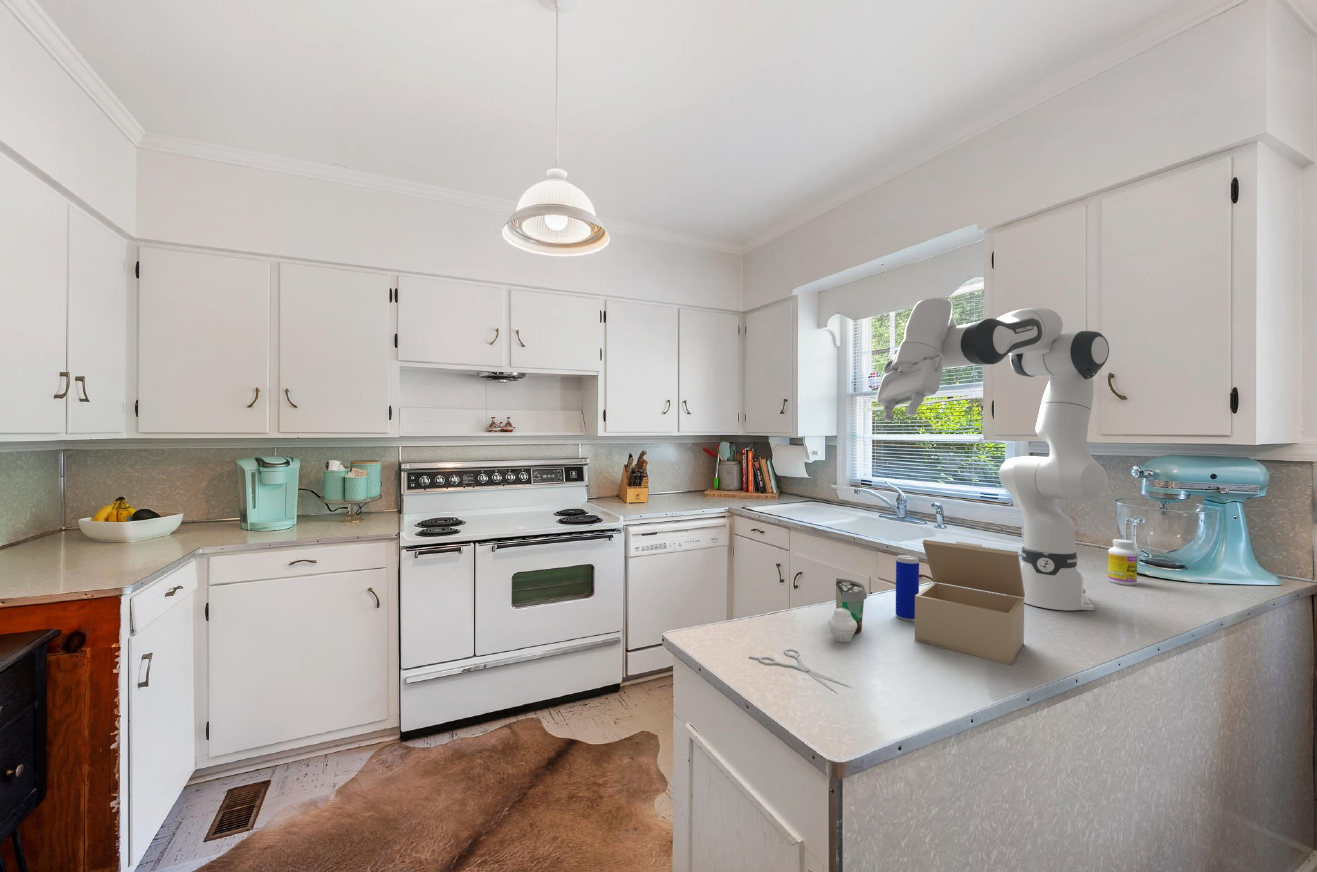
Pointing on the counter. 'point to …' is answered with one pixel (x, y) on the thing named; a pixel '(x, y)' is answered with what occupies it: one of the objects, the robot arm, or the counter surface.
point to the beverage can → (906, 586)
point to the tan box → (970, 621)
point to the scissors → (798, 667)
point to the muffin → (842, 625)
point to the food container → (851, 599)
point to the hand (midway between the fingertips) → (897, 418)
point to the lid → (975, 567)
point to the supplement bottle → (1122, 563)
